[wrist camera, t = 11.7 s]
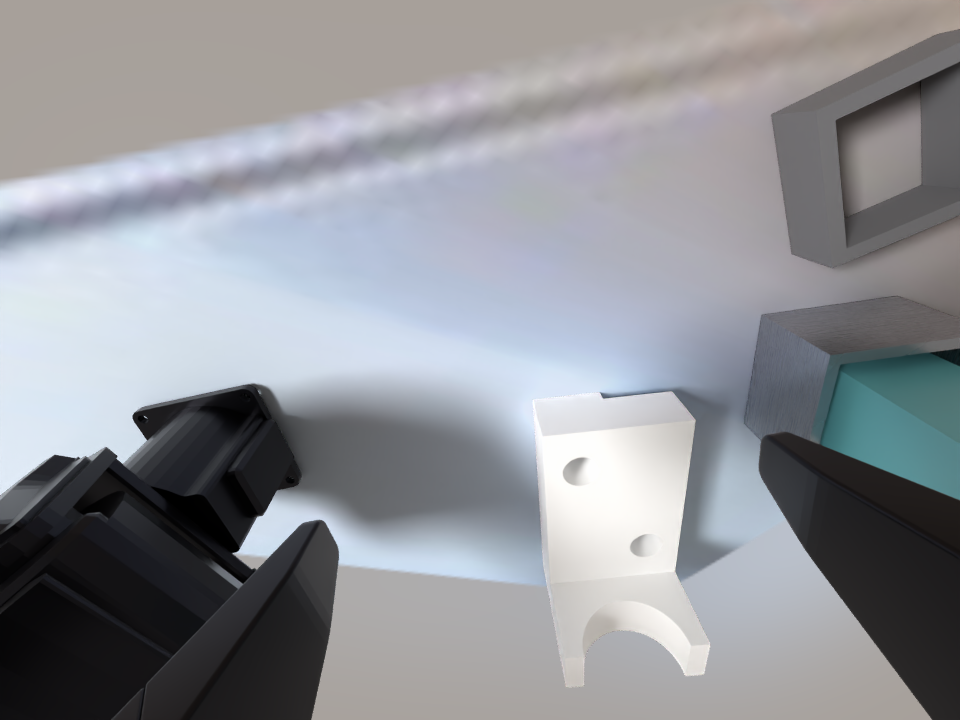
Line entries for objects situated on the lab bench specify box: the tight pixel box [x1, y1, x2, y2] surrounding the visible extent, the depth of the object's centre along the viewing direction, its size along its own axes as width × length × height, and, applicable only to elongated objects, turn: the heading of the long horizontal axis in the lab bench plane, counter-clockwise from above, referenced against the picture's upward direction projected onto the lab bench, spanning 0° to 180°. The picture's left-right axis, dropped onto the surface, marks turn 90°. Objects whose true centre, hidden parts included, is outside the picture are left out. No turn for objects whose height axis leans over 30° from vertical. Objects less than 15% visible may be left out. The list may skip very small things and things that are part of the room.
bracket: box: [533, 391, 710, 688], centre depth 23 cm, size 13×7×8 cm, turn 6°
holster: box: [771, 29, 960, 268], centre depth 17 cm, size 6×6×2 cm
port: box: [744, 296, 960, 445], centre depth 21 cm, size 6×6×4 cm
